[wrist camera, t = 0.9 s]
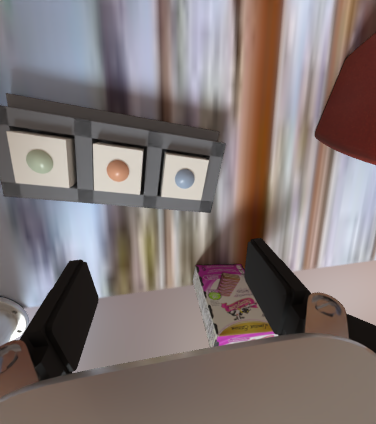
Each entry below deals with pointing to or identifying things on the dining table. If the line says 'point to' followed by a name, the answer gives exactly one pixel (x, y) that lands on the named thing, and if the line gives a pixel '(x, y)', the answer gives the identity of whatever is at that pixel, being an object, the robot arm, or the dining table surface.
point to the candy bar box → (228, 305)
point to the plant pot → (353, 107)
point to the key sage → (42, 159)
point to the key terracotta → (117, 168)
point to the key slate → (183, 176)
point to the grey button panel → (114, 134)
